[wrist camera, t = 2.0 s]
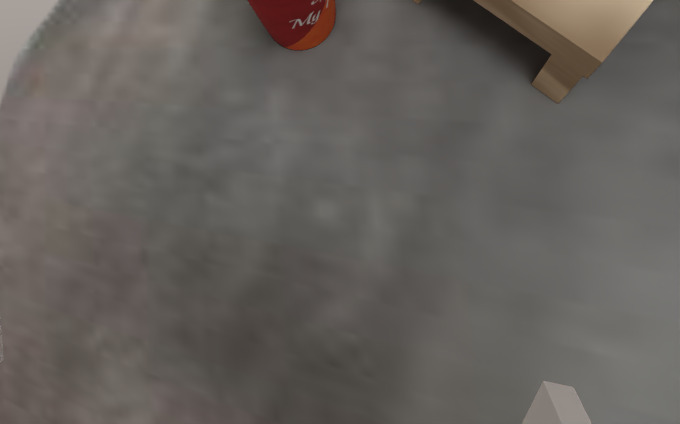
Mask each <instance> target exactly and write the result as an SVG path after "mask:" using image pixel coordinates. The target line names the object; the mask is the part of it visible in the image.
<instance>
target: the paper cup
mask: <svg viewBox="0 0 680 424" xmlns="http://www.w3.org/2000/svg"><path fill="white" fill-rule="evenodd" d="M248 2H249V3H250V5H251V6H252V8H253V10H254V11H255V13H256V14H257V16H258V17H259V19H260V20H261V22H262V24H263V25H264V27H265V28H266V29H267V31H268V32H269V34H270V35H271V36H272V38H273V39H274V40H275V41H276V42H277V43H278V44H280V45H281V46H283V47H285V48H288V49H291V50H307V49H310V48H313V47H315V46H317V45H319V44H320V43H322V42H323V41H324V40H325V39H326V38H327V37H328V36H329V34H330V33H331V31H332V29H333V26H334V23H335V16H336V9H335V0H248Z"/></svg>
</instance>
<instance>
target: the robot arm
mask: <svg viewBox="0 0 680 424" xmlns="http://www.w3.org/2000/svg"><path fill="white" fill-rule="evenodd" d="M2 361H3V349H2V335H1V321H0V363H1V362H2ZM522 424H592V423H591V421H590V419H589V417H588V415H587V413H586V411H585V409H584V407H583V405H582V403H581V401H580V399H579V397H578V395H577V393H576V391H575V389H574V387H571V386H566V385H561V384H556V383H551V382H547V381H543V382H542V384H541V386H540V388H539V390H538V392H537V394H536V396H535V398H534V400H533V402H532V404H531V406H530V408H529V410H528V412H527V414H526V416H525V418H524V420H523V422H522Z"/></svg>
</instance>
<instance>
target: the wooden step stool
mask: <svg viewBox="0 0 680 424" xmlns="http://www.w3.org/2000/svg"><path fill="white" fill-rule="evenodd" d="M413 1H414V2H416V3H417V4H419V3H420V2H421V1H422V0H413ZM474 1H475V2H477V3H478V4H480V5H481V6H482V7H484V8H485V9H487V10H488V11H490V12H491V13H493V14H494V15H495V16H497V17H498V18H500V19H501V20H503V21H504V22H506V23H507V24H508V25H510V26H511V27H513V28H514V29H516V30H517V31H518V32H520V33H521V34H523V35H524V36H526V37H527V38H529V39H530V40H531V41H533V42H534V43H536V44H537V45H539V46H540V47H542V48H543V49H544V50H546V51H547V52H549V53H550V54H551V56H550V57H549V59H548V60H547V62H546V63H545V65H544V66H543V68H542V69H541V71H540V72H539V74H538V75H537V77H536V78H535V80H534V81H533V83H532V84H531V85H532V86H534V87H535V88H537V89H538V90H539V91H541V92H542V93H544V94H545V95H546V96H548V97H549V98H551V99H552V100H553V101H555V102H556V103H558V104H559V102H560V101H561V100H562V99H563V98H564V97H565V96H566V95H567V93H568V92H569V91H570V90H571V89H572V88H573V87H574V86H575V84H576V83H577V82H578V81H579V80H580V79H581V78H582V77H585V78H586V79H588V77H589V76H590V75H591V74H592V73H593V72H594V71H595V70H596V69H597V68H598V67H599V66H600V64H601V63H602V62H603V61H604V60H605V59H606V57H607V56H608V55H609V54H610V53H611V51H612V50H613V49H614V48H615V46H616V45H617V44H618V43H619V42H620V40H621V39H622V38H623V37H624V35H625V34H626V33H627V32H628V31H629V29H630V28H631V27H632V26H633V25H634V23H635V22H636V21H637V20H638V18H639V17H640V16H641V15H642V14H643V12H644V11H645V10H646V9H647V8H648V6H649V5H650V4H651V3H652V1H653V0H474Z"/></svg>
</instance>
